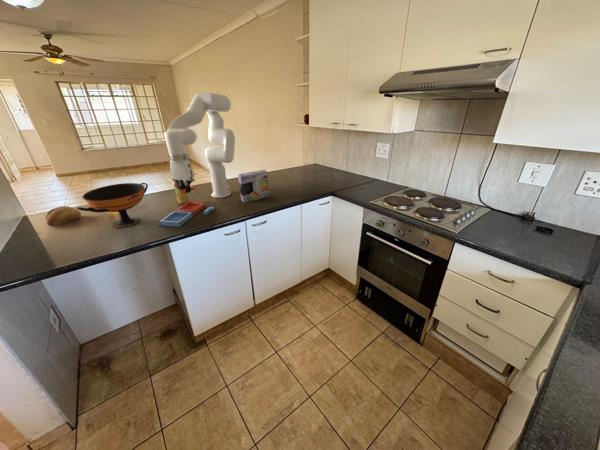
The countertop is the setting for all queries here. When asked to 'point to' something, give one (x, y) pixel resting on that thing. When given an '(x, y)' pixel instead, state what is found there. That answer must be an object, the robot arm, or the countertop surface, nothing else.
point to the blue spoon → (208, 210)
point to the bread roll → (62, 215)
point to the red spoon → (185, 189)
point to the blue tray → (176, 218)
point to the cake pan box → (253, 185)
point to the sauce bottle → (181, 197)
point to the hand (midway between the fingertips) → (186, 191)
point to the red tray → (192, 207)
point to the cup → (116, 200)
